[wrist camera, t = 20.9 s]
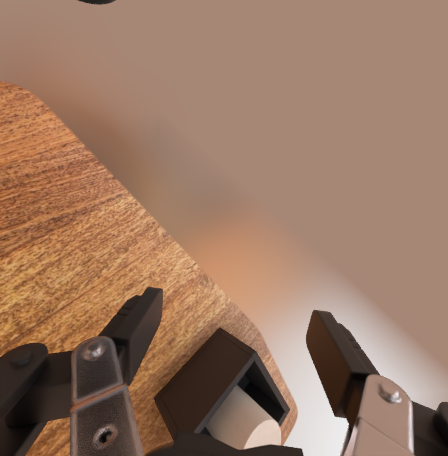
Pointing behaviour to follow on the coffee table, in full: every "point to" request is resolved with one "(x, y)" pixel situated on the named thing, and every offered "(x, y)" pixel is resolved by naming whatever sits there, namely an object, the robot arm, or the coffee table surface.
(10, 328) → the coffee table surface
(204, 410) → the bin
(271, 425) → the paper cup
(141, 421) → the coffee table surface
